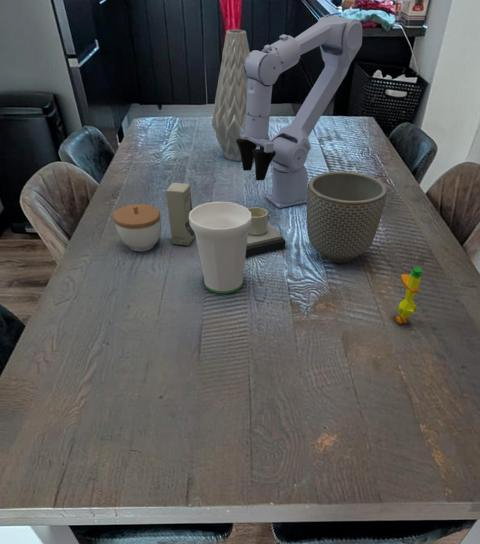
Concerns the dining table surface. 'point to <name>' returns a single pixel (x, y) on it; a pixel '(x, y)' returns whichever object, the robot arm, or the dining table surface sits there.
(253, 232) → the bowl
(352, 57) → the robot arm
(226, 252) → the cup
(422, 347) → the dining table surface
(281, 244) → the scale
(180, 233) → the box
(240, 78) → the vase
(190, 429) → the dining table surface
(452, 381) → the dining table surface
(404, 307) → the toy figure
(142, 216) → the trinket box
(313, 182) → the planter
